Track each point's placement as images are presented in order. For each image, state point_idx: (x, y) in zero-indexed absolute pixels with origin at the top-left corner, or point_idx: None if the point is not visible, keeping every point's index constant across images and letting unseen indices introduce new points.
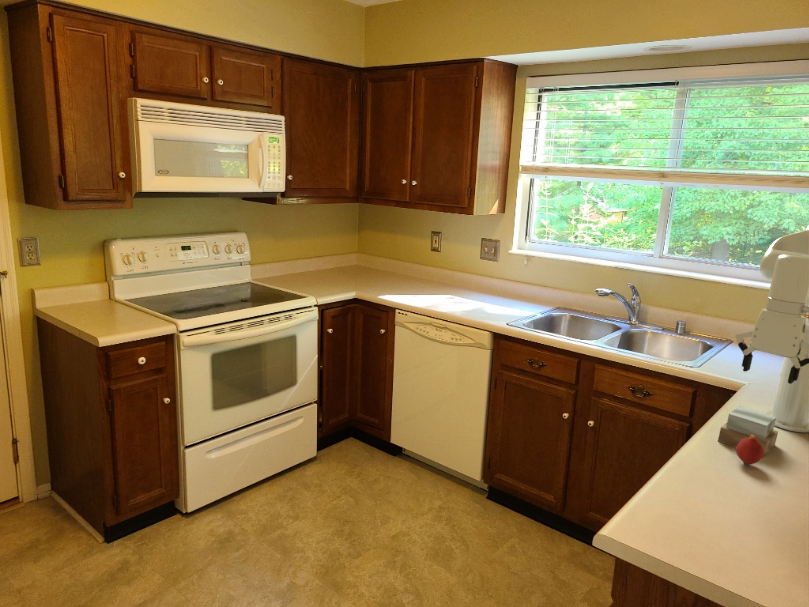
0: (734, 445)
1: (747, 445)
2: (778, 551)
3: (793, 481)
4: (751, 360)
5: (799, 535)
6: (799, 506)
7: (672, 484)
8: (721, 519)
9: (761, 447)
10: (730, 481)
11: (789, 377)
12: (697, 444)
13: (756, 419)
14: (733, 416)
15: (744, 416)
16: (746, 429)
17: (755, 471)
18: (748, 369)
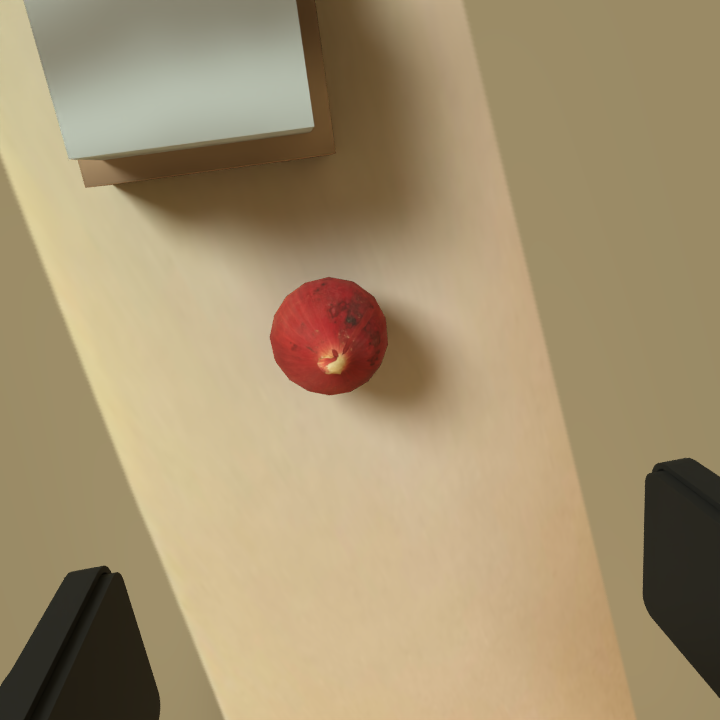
0: (193, 173)
1: (333, 392)
2: (583, 708)
3: (499, 286)
4: (69, 717)
5: (602, 608)
6: (564, 458)
7: (263, 685)
8: (442, 712)
9: (380, 341)
10: (356, 508)
11: (699, 663)
12: (94, 325)
13: (221, 67)
14: (104, 155)
15: (148, 96)
16: (210, 144)
17: None
18: (132, 634)
